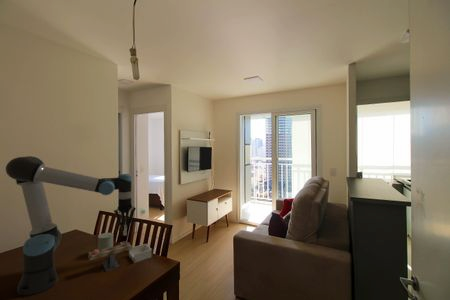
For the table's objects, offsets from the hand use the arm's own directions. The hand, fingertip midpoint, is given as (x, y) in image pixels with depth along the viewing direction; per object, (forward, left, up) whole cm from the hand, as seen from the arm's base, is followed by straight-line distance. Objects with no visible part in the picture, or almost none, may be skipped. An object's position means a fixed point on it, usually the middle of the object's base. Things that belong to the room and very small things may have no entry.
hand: (124, 234), depth 136 cm
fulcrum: (-9, -7, -14) cm, 18 cm away
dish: (+8, -7, -14) cm, 17 cm away
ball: (-17, -7, -5) cm, 19 cm away
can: (-8, +13, -14) cm, 21 cm away
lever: (-9, -3, -7) cm, 12 cm away
